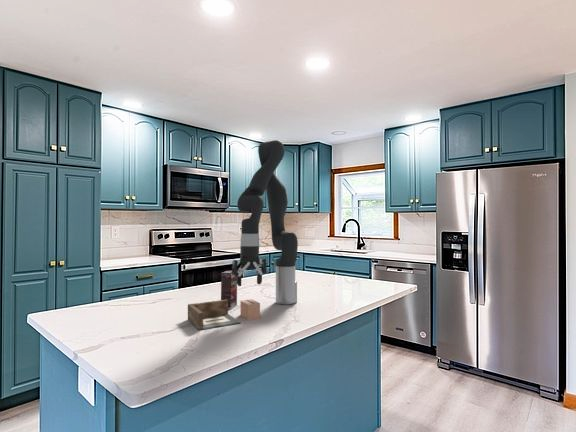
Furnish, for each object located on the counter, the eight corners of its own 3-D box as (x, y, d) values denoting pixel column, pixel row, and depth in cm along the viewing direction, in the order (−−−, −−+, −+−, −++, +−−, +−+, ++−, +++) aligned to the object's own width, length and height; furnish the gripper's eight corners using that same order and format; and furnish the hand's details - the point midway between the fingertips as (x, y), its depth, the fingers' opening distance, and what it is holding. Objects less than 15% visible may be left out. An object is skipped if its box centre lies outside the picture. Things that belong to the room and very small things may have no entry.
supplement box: (230, 310, 154) (230, 273, 154) (220, 309, 155) (220, 272, 155) (237, 305, 163) (237, 270, 163) (227, 304, 164) (227, 269, 164)
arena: (226, 314, 148) (226, 299, 148) (240, 323, 135) (240, 307, 135) (187, 319, 140) (187, 304, 140) (198, 330, 127) (198, 313, 127)
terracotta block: (251, 313, 149) (251, 298, 149) (260, 318, 142) (260, 302, 142) (240, 315, 147) (240, 300, 147) (248, 320, 140) (248, 304, 140)
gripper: (261, 243, 151) (261, 282, 151) (229, 244, 144) (229, 284, 144) (269, 245, 145) (269, 285, 145) (236, 245, 138) (236, 288, 138)
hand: (249, 284), depth 144 cm, fingers open, 8 cm apart
